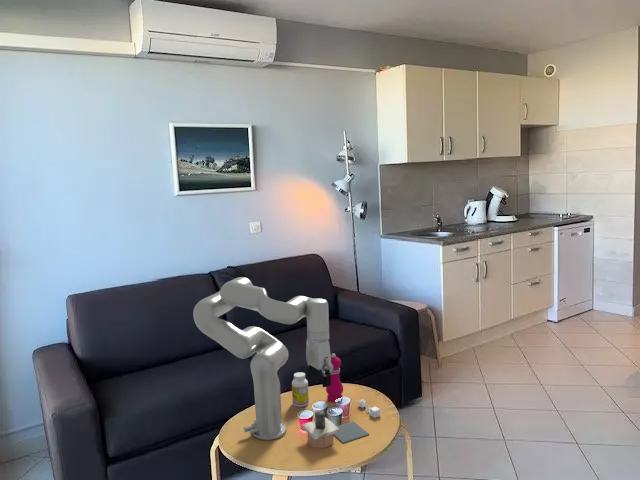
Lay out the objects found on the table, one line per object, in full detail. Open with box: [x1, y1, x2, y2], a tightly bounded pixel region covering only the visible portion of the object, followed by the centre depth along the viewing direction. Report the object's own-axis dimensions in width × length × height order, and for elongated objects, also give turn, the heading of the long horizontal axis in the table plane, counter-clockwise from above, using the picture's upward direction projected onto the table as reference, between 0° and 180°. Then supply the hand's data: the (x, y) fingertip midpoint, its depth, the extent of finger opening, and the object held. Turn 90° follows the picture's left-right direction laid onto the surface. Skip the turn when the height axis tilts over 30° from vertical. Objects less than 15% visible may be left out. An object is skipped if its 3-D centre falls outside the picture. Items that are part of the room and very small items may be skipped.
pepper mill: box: [325, 353, 344, 403], centre depth 220 cm, size 7×7×20 cm
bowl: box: [307, 433, 334, 449], centre depth 189 cm, size 9×9×4 cm
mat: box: [333, 420, 370, 444], centre depth 194 cm, size 11×11×1 cm
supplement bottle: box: [291, 371, 310, 408], centre depth 217 cm, size 7×7×13 cm
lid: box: [301, 410, 340, 439], centre depth 188 cm, size 10×10×6 cm
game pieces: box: [357, 399, 381, 419], centre depth 210 cm, size 12×3×3 cm, turn 30°
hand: (319, 381), depth 186 cm, fingers open, 9 cm apart
